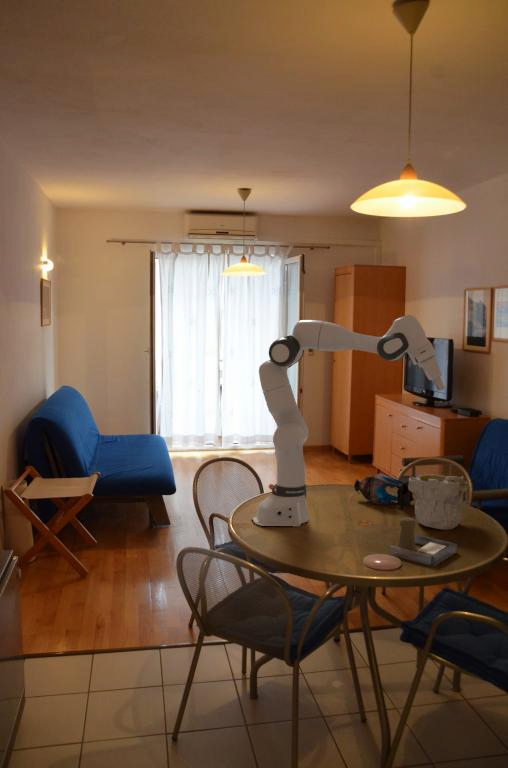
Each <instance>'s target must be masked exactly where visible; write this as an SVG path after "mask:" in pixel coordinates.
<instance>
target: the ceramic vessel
mask: <svg viewBox="0 0 508 768" xmlns="http://www.w3.org/2000/svg"><path fill="white" fill-rule="evenodd" d="M408 482H409V486H408V489H409V490H410V491H411V492H412V493H413V495H414V494H415V496H416V498H415V500H414V501H415V502H414V515H415V518H416V520H417V521H418V522H419V524H420V525H422V526H424V527H427V528H433V529H437V530H441V531H449V529H450V530H453V529H455V528H457V526H458V525H459V524H460V523H461V521H462V519H463V505H464V504H466V503H468V502H469V500H468V490H469V486H468V485H469V484H468V482H467V481H466V480H465V477H464V475H462V476H456V475H449V476H448V475H447V476H446V475H443V474H442V475H441V474H434V473H430V474H429V473H428V474H427V473H426V474H421V475H417V476H416V477H415V476H410V477H409V478H408Z"/></svg>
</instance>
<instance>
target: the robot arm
mask: <svg viewBox="0 0 508 768" xmlns="http://www.w3.org/2000/svg"><path fill="white" fill-rule="evenodd" d="M392 322H393V323H392V325H391V326H390V327H389V329H388V331H387V332H385V334H384V335H382V336H375V335H374V336H373V335H368V334H363V333H357V332H355V331H352V330H350V329H348V328H346V327H344V326H342V325H339V324H337V323H335V322H334V323H333V322H329V321H325V320H324V321H323V320H318V319H317V320H315V319H302V320H299V321H298V322H296V323H295V325H294V326H293V330H292V334H291V335H290V334H288V335H285V336H283V337H280V338H278V339H275V340H274V341H272V343H271V344H270V345H269V348H268V357H269V360H266V361H264V362H262V363H261V365H260V366H259V369H258V375H259V381H260V385H261V390H262V393H263V396H264V401H265V403H266V406H267V409H268V412H269V413H270V414H271V416H272V417H273V420H274V423H275V425H276V427H277V428H276V429H275V431H274V434H273V437H272V443H273V446H274V453H275V454H274V455H275V460H276V483H275V484H273V483H269V484H268V488H269V490H271V494H269V495H268V496H267V497H266V498H264V499H263V500H262V501H261V502H259V503H258V506H257V511H256V514H257V516H256V517H254V518H253V520H254V522H256V523H257V524H259V525H262V526H293V527H300V526H299V525H301V524H302V523H303V524H305V523H304V522H306V523H307V522H309V520H310V517H309V514H308V510H307V509H308V508H307V503H306V502H307V501H306V498H307V484H306V462H305V458H304V457H305V456H304V448H303V446H304V443H305V442H307V439H308V437H309V427H308V425H307V423H306V422H305V419H304V417H303V415H302V412H301V411H300V409H299V406H298V404H297V401H296V398H295V395H294V391H293V390H292V385H291V383H290V379H289V376H288V369H290V368H291V367H293V366H294V365H295V364H297V363H298V362H300V360H301V359H302V358H303V356H304V354H305V350H307V349H311V350H317V351H322V352H323V351H324V352H341V351H342V352H343V351H350V350H351V351H352V350H353V351H362V352H367V353H373V354H376V355H379V356H380V358H382V359H383V360H385V361H389V362H397V361H401V359H403V358H404V357H405V355H407V354H408V356H409V358H410V360H411V362H412V364H413V365H414V366H418V367H419V369H420V368H422V370H423V372H424V374H425V376H426V377H427V379H428V380H429V381H432V383H433V384H434V386H435V388H436V389H437V391H444V390H445V389H446V387H445V385H444V384H443V381H442V379H441V377H442V376H443V373H442V371H441V369H440V366H439V364H438V361H437V359H436V357H435V356H436V355H437V352H436V350H435V348H434V347H433V344H432V342H431V341H430V340H429V339H428V337H427V336H426V335H427V334H426V331H425V330H424V328H423V326H422V325H421V323H420V321H419V320H418V319H417V318H416V317H415V316H414V315H412V314H411V315H409V314H407V315H404V316H400V317H398V318H396V319H394V320H393V321H392ZM303 524H302V525H303ZM302 525H301V526H302Z"/></svg>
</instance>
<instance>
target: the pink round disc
mask: <svg viewBox="0 0 508 768" xmlns="http://www.w3.org/2000/svg"><path fill="white" fill-rule="evenodd" d="M362 560H363V561H362V562H363V564H364V566H366V567H368V568H370V569H374V570H379V571H391V570H397V569H399V568H400V567H401V566H402V561H401V558H399V557H395V556H392V555H389V554H387V553H385V554H384V553H374V554H369V555H366V556H364V557H363V559H362Z"/></svg>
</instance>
